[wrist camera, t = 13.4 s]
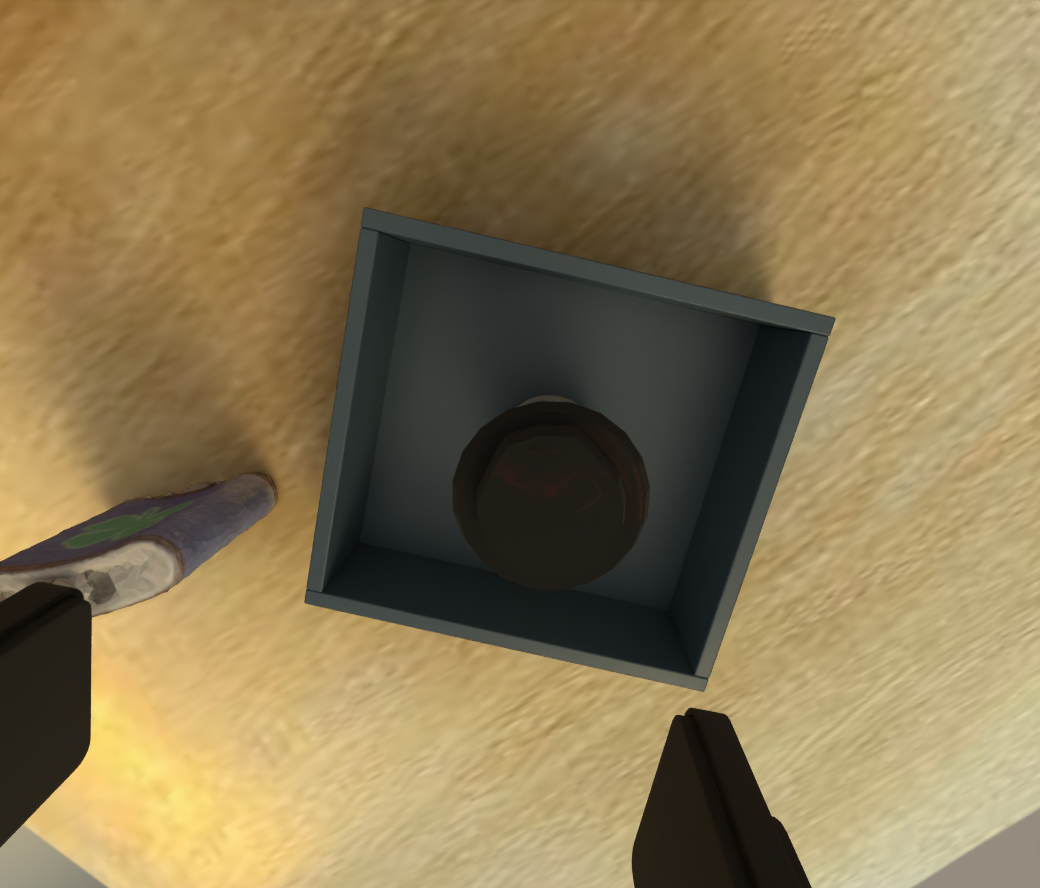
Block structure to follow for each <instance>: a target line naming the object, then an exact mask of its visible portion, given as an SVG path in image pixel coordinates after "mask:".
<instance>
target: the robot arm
mask: <svg viewBox="0 0 1040 888" xmlns="http://www.w3.org/2000/svg"><path fill="white" fill-rule="evenodd" d="M91 635H92V608H91V604H90V603H89V602H88V601H86V600H84V595H83V593H82V592H81V590H79V589H77V588H72V587H67V586H62V585H56V584H51V583H46V582H36V583H33V584H31V585H29V586H27V587H25V588H24V589H22V590H20V591H18V592H17V593H15V594H13V595H12V596H10V597H8V598H6V599H5V600H3V601H1V602H0V847H1V846H2V845H3V844H4V843H5V842H6V841H7V840H8V839H9V838H10V837H11V836H12V835H13V834H14V833H15V832H16V831H17V830H18V829H19V828H20V827H21V825H23V823H24V822H25V821H26V820H27V819H28V818H29V817H30V816H31V815H32V814H33V813H34V812H35V811H36V810H37V809H38V808H39V807H40V806H41V805H42V804H43V803H44V802H45V801H46V800H47V799H48V798H49V796H50V795H51V794H52V793H53V792H54V791H55V790H56V789H57V788H58V787H59V786H60V785H61V784H62V783H63V782H64V781H65V780H66V779H67V778H68V777H69V776H70V775H71V774H72V773H73V772H74V771H75V770H76V768H77V767H78V766H79V765H80V764H81V762H82V761H83V759H84V757H85V755H86V753H87V751H88V748H89V745H90V736H91ZM632 873H633V880H634V886H635V888H812V887H811V885H810V883H809V881H808V878H807V876H806V874H805V872H804V869H803V867H802V865H801V863H800V861H799V858H798V856H797V854H796V852H795V849H794V847H793V845H792V843H791V840H790V838H789V836H788V834H787V832H786V830H785V828H784V827H783V825H782V823H781V822H780V821H779V820H778V819H776V818H775V817H772V816H771V814H770V812H769V809H768V807H767V805H766V802H765V800H764V798H763V795H762V793H761V791H760V788H759V786H758V784H757V781H756V779H755V777H754V775H753V772H752V770H751V768H750V765H749V763H748V761H747V758H746V756H745V754H744V751H743V749H742V747H741V744H740V742H739V740H738V737H737V735H736V733H735V731H734V728H733V726H732V724H731V721H730V719H729V718H728V716H727V715H725V714H722V713H717V712H712V711H706V710H701V709H696V708H689V709H688V710H687V711H686V713H685V715H684V716H681V715H676V716H675V717H674V719H673V721H672V724H671V727H670V730H669V733H668V736H667V740H666V743H665V746H664V749H663V752H662V756H661V759H660V762H659V765H658V768H657V772H656V775H655V778H654V781H653V784H652V788H651V791H650V794H649V797H648V800H647V803H646V807H645V810H644V813H643V816H642V819H641V823H640V826H639V829H638V832H637V835H636V839H635V842H634V846H633V852H632Z"/></svg>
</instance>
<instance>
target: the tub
mask: <svg viewBox="0 0 1040 888" xmlns="http://www.w3.org/2000/svg"><path fill="white" fill-rule="evenodd" d="M361 227H362V228H361V229H360V235H359V241H358V248H357V255H356V261H355V268H354V275H353V281H352V288H351V295H350V301H349V308H348V315H347V321H346V328H345V335H344V341H343V348H342V355H341V361H340V368H339V375H338V381H337V388H336V395H335V401H334V408H333V415H332V421H331V428H330V435H329V441H328V448H327V455H326V461H325V468H324V474H323V481H322V488H321V494H320V501H319V508H318V514H317V521H316V528H315V534H314V541H313V548H312V554H311V561H310V568H309V574H308V581H307V590H306V595H305V603H306V604H310V605H314V606H319V607H323V608H328V609H332V610H337V611H342V612H346V613H351V614H355V615H360V616H364V617H369V618H373V619H378V620H382V621H387V622H391V623H396V624H400V625H405V626H409V627H414V628H418V629H423V630H427V631H432V632H436V633H441V634H445V635H450V636H454V637H459V638H463V639H468V640H472V641H477V642H481V643H486V644H490V645H495V646H499V647H504V648H508V649H513V650H517V651H522V652H526V653H531V654H535V655H540V656H544V657H549V658H553V659H558V660H562V661H567V662H571V663H576V664H580V665H585V666H589V667H594V668H598V669H603V670H607V671H612V672H616V673H621V674H625V675H630V676H634V677H639V678H643V679H648V680H652V681H657V682H661V683H666V684H670V685H675V686H679V687H684V688H689V689H693V690H698V691H702V692H704V691H705V688H706V685H707V683H708V678H709V677H710V674H711V671H712V668H713V665H714V663H715V660H716V657H717V654H718V651H719V648H720V646H721V643H722V640H723V637H724V634H725V631H726V628H727V626H728V623H729V620H730V617H731V614H732V611H733V609H734V606H735V603H736V600H737V597H738V594H739V591H740V589H741V586H742V583H743V580H744V577H745V574H746V572H747V569H748V566H749V563H750V560H751V557H752V554H753V552H754V549H755V546H756V543H757V540H758V537H759V535H760V532H761V529H762V526H763V523H764V520H765V518H766V515H767V512H768V509H769V506H770V503H771V500H772V498H773V495H774V492H775V489H776V486H777V483H778V481H779V478H780V475H781V472H782V469H783V466H784V463H785V461H786V458H787V455H788V452H789V449H790V446H791V444H792V441H793V438H794V435H795V432H796V429H797V426H798V424H799V421H800V418H801V415H802V412H803V409H804V407H805V404H806V401H807V398H808V395H809V392H810V389H811V387H812V384H813V381H814V378H815V375H816V372H817V370H818V367H819V364H820V361H821V358H822V355H823V353H824V350H825V347H826V344H827V341H828V337H827V336H829V335H830V333H831V330H832V328H833V325H834V322H835V318H834V317H830V316H826V315H822V314H817V313H813V312H809V311H805V310H800V309H796V308H792V307H788V306H783V305H779V304H775V303H771V302H766V301H762V300H758V299H754V298H749V297H745V296H741V295H737V294H732V293H728V292H724V291H720V290H715V289H711V288H707V287H703V286H698V285H694V284H690V283H686V282H681V281H677V280H673V279H669V278H664V277H660V276H656V275H652V274H647V273H643V272H639V271H635V270H630V269H626V268H622V267H617V266H613V265H609V264H605V263H600V262H596V261H592V260H588V259H583V258H579V257H575V256H571V255H566V254H562V253H558V252H554V251H549V250H545V249H541V248H537V247H532V246H528V245H524V244H520V243H515V242H511V241H507V240H503V239H498V238H494V237H490V236H486V235H481V234H477V233H473V232H469V231H464V230H460V229H456V228H452V227H447V226H443V225H439V224H435V223H430V222H426V221H422V220H418V219H413V218H409V217H405V216H400V215H396V214H392V213H388V212H383V211H379V210H375V209H371V208H366V207H364V208H363V214H362V221H361ZM540 395H558V396H561V397H564V398H567V399H569V400H572V401H573V402H575V403H576V404H578V405H580V406H583V407H586V408H588V409H591V410H594V411H597V412H600V413H602V414H603V415H604V416H605V417H607V418H608V419H609V420H611V421H612V422H613V423H614V424H616V425H617V426H618V427H620V428H621V429H622V430H623V431H625V432H626V433H627V435H628V436H629V438H630V439H631V441H632V443H633V444H634V446H635V447H636V449H637V450H638V452H639V453H640V455H641V456H642V458H643V461H644V465H645V469H646V472H647V476H648V480H649V484H650V497H649V509H648V518H647V520H646V522H645V524H644V527H643V529H642V531H641V534H640V536H639V538H638V541H637V543H636V544H635V546H634V547H633V548H632V549H631V550H630V551H629V552H628V553H627V555H626V556H625V557H624V558H623V559H622V560H621V561H620V562H619V564H618V565H617V566H616V567H615V568H614V569H612V570H610V571H609V572H607V573H605V574H604V575H602V576H600V577H599V578H597V579H595V580H594V581H592V582H590V583H588V584H584V585H580V586H576V587H572V588H568V589H564V590H546V589H531V588H529V587H526V586H523V585H520V584H517V583H514V582H511V581H508V580H505V579H504V578H503V577H501V576H500V575H498V574H497V573H496V572H494V571H493V570H492V569H490V568H489V567H487V566H486V565H485V564H483V563H482V562H481V561H480V560H479V559H478V558H477V556H476V555H475V554H474V552H473V551H472V550H471V548H470V547H469V546H468V544H467V543H466V542H465V540H464V539H463V538H462V535H461V533H460V530H459V527H458V524H457V521H456V518H455V515H454V512H453V477H454V474H455V471H456V469H457V466H458V463H459V460H460V457H461V454H462V451H463V450H464V449H465V448H466V446H467V445H468V444H469V442H470V441H471V440H472V438H473V437H474V436H475V435H476V433H477V432H478V431H479V429H480V428H481V427H482V426H484V425H485V424H487V423H488V422H490V421H491V420H493V419H494V418H496V417H497V416H499V415H500V414H502V413H503V412H505V411H506V410H508V409H512V408H515V407H517V406H519V405H520V404H522V403H523V402H525V401H526V400H528V399H530V398H533V397H537V396H540Z"/></svg>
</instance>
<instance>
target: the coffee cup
mask: <svg viewBox="0 0 1040 888" xmlns="http://www.w3.org/2000/svg"><path fill="white" fill-rule="evenodd" d="M649 497H650V484H649V480H648V476H647V472H646V469H645V465H644V461H643V458H642V456H641V455H640V453H639V452H638V450H637V449H636V447H635V446H634V444H633V443H632V441H631V439H630V438H629V436H628V435H627V433H626V432H625V431H623V430H622V429H621V428H620V427H618V426H617V425H616V424H614V423H613V422H612V421H611V420H609V419H608V418H607V417H605V416H604V415H603V414H602V413H600V412H597V411H594V410H591V409H588V408H586V407H583V406H580V405H578V404H576V403H575V402H573V401H572V400H569V399H567V398H564V397H561V396H558V395H540V396H537V397H533V398H530V399H528V400H526V401H525V402H523V403H522V404H520V405H519V406H517V407H515V408H512V409H508V410H506V411H505V412H503V413H502V414H500V415H499V416H497V417H496V418H494V419H493V420H491V421H490V422H488V423H487V424H485V425H484V426H482V427H481V428H480V429H479V431H478V432H477V433H476V435H475V436H474V437H473V438H472V440H471V441H470V442H469V444H468V445H467V446H466V448H465V449H464V450H463V451H462V454H461V457H460V460H459V463H458V466H457V469H456V471H455V474H454V477H453V512H454V515H455V518H456V521H457V524H458V527H459V530H460V533H461V535H462V538H463V539H464V540H465V542H466V543H467V544H468V546H469V547H470V548H471V550H472V551H473V552H474V554H475V555H476V556H477V558H478V559H479V560H480V561H481V562H482V563H483V564H485V565H486V566H487V567H489V568H490V569H492V570H493V571H494V572H496V573H497V574H498V575H500V576H501V577H503V578H504V579H505V580H508V581H511V582H514V583H517V584H520V585H523V586H526V587H529V588H531V589H546V590H564V589H568V588H572V587H576V586H580V585H584V584H588V583H590V582H592V581H594V580H595V579H597V578H599V577H600V576H602V575H604V574H605V573H607V572H609V571H610V570H612V569H614V568H615V567H616V566H617V565H618V564H619V562H620V561H621V560H622V559H623V558H624V557H625V556H626V555H627V553H628V552H629V551H630V550H631V549H632V548H633V547H634V546H635V544H636V543H637V541H638V538H639V536H640V534H641V531H642V529H643V527H644V524H645V522H646V520H647V518H648V509H649Z"/></svg>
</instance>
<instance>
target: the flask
mask: <svg viewBox="0 0 1040 888" xmlns="http://www.w3.org/2000/svg"><path fill="white" fill-rule="evenodd" d="M275 490H276V488H275V485H273V482H272V481H271V479H270V477H269V476H265V475H262V474H258V473H247V474H237V475H234V476H233V478H231V479H229V480H227V481H222V482H219V483H217V482H214V483H212V484H211V483H210V482H206V483H204V484H201V483H198V484H197V485H192V486H190V487H189V488H187V490H184V491H183V492H181V494H172V493H171V492H170V491H169V492H168V493H167V494H165V495H163V496H162V497H158V498H154V497H150V496H148V495H147V497H144V498H135V499H132V500H131V499H130V500H126V501H124V502H123V503H122V504H120V505H117V506H115V507H113V508H111V509H110V510H108V511H106V512H104V513H101V514H99V515H97V516H95V517H93V518H91V519H89V520H87V521H85V522H83V523H80V524H78V525H75V526H73V527H71V528H69V529H66V530H63V531H62V532H60V533H59V534H57V535H55V536H53V537H51V538H49V539H47V540H45V541H42V542H40V543H38V544H36V545H34V546H32V547H30V548H28V549H25V550H23V551H20V552H18V553H16V554H15V555H13V556H11V557H9V558H7V559H5V560H3V561H0V602H1V601H3V600H5V599H6V598H8V597H10V596H12V595H13V594H15V593H17V592H18V591H20V590H22V589H24V588H25V587H27V586H29V585H31V584H33V583H36V582H46V583H51V584H56V585H62V586H67V587H72V588H77V589H79V590H81V592H82V593H83V595H84V600H86V601H88V602H89V603H90V604H91V608H92V617H95V616H99V615H103V614H108V613H110V612H113V611H116V610H119V609H122V608H126V607H129V606H132V605H134V604H137V603H140V602H143V601H146V600H148V599H151V598H153V597H156V596H158V595H160V594H162V593H165V592H168V590H169V589H170V588H172V587H173V586H175V585H177V584H178V583H180V582H181V581H182V580H183V579H184V578H186V577H187V576H189V575H190V574H191V573H192V572H193V571H194V570H195V569H196V568H198V567H199V566H200V565H201V564H202V563H204V562H205V561H207V560H208V559H210V558H211V557H212V556H213V555H214V554H215V553H217V552H218V551H219V550H220V549H222V548H223V547H225V546H227V545H228V544H229V543H230V542H231V541H232V540H233V539H235V538H236V537H237V536H238V535H240V534H241V533H243V532H244V531H246V530H247V529H249V528H250V527H251V526H252V525H253V524H255V523H256V522H257V521H258V520H259V519H262V518H263V517H265V516H266V515H267V514H268V513H269V512H270V511H271V510H272V508H273V507H274V505H275V504H276V501H277V497H278V496H277V491H276V492H275ZM275 496H276V500H275Z"/></svg>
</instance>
